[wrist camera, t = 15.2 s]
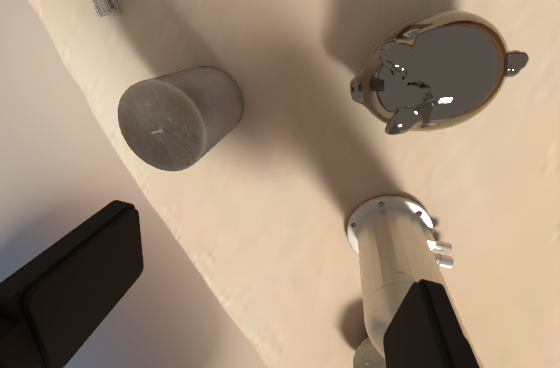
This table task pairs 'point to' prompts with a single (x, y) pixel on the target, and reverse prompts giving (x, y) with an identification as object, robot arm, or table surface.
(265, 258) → the table surface
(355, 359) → the decorative shell
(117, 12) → the lattice window wall
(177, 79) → the pillar candle
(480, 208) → the table surface
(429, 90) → the piggy bank
